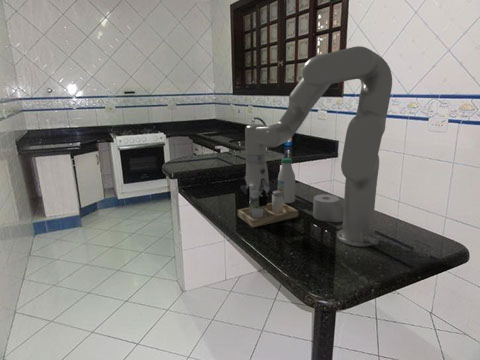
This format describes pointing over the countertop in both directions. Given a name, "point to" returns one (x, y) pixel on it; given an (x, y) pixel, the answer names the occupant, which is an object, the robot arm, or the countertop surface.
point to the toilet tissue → (327, 208)
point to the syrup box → (256, 203)
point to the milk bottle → (287, 181)
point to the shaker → (277, 202)
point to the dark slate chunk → (272, 186)
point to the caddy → (267, 215)
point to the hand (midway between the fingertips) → (256, 202)
